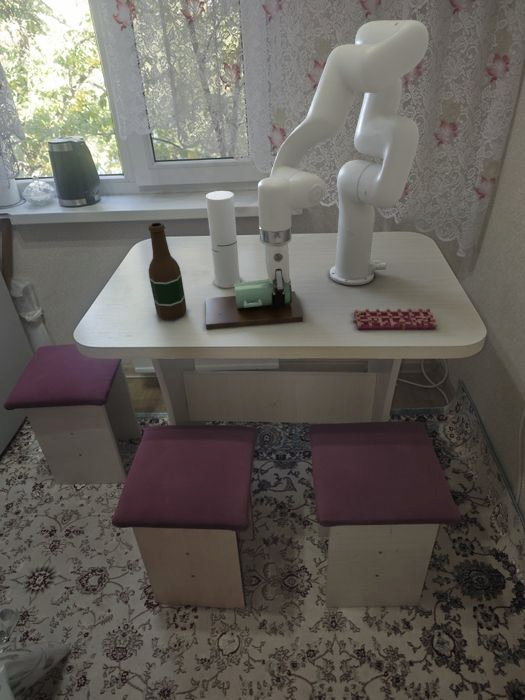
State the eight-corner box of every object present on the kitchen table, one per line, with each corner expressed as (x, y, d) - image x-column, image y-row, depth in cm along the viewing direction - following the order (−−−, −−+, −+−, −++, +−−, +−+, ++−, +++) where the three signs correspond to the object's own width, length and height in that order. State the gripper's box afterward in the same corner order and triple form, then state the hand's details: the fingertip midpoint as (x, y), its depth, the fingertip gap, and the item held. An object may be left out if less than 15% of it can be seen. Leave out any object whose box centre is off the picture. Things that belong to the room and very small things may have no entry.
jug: (236, 300, 120) (288, 294, 120) (238, 319, 112) (294, 312, 113) (233, 278, 116) (288, 272, 116) (235, 295, 108) (293, 289, 109)
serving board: (294, 295, 124) (294, 291, 123) (302, 321, 113) (302, 316, 112) (206, 302, 122) (206, 298, 121) (206, 329, 112) (205, 324, 111)
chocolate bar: (351, 314, 115) (352, 307, 114) (427, 313, 114) (429, 306, 113) (355, 330, 109) (355, 323, 108) (435, 329, 108) (437, 322, 107)
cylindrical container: (236, 288, 128) (229, 200, 113) (212, 287, 129) (202, 199, 114) (242, 277, 134) (236, 191, 119) (219, 275, 135) (210, 190, 120)
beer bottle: (173, 324, 114) (157, 233, 100) (150, 316, 118) (131, 227, 103) (193, 310, 119) (180, 221, 105) (170, 302, 123) (155, 216, 109)
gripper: (297, 247, 99) (296, 316, 110) (286, 219, 113) (286, 282, 124) (263, 250, 99) (265, 319, 110) (256, 221, 113) (259, 284, 124)
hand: (276, 299), depth 117 cm, fingers closed on jug, 6 cm apart
